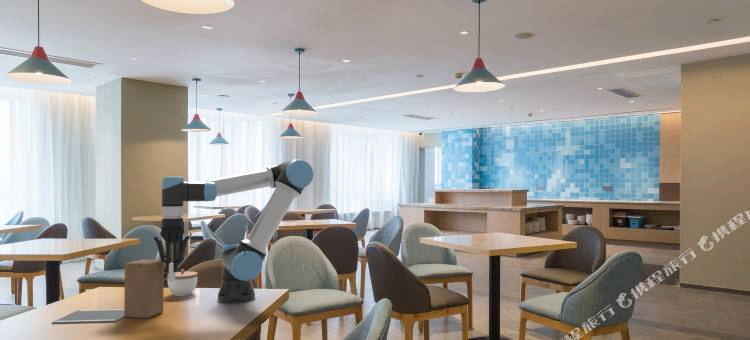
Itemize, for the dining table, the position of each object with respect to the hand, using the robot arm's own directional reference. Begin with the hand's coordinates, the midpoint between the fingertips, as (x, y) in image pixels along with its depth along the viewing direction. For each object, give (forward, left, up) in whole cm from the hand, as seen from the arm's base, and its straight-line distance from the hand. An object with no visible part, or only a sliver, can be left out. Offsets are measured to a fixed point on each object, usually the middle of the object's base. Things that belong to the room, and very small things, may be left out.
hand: (172, 280), depth 186 cm
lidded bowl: (+7, -35, -13) cm, 38 cm away
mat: (+27, 0, -13) cm, 30 cm away
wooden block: (+10, 0, -13) cm, 16 cm away
